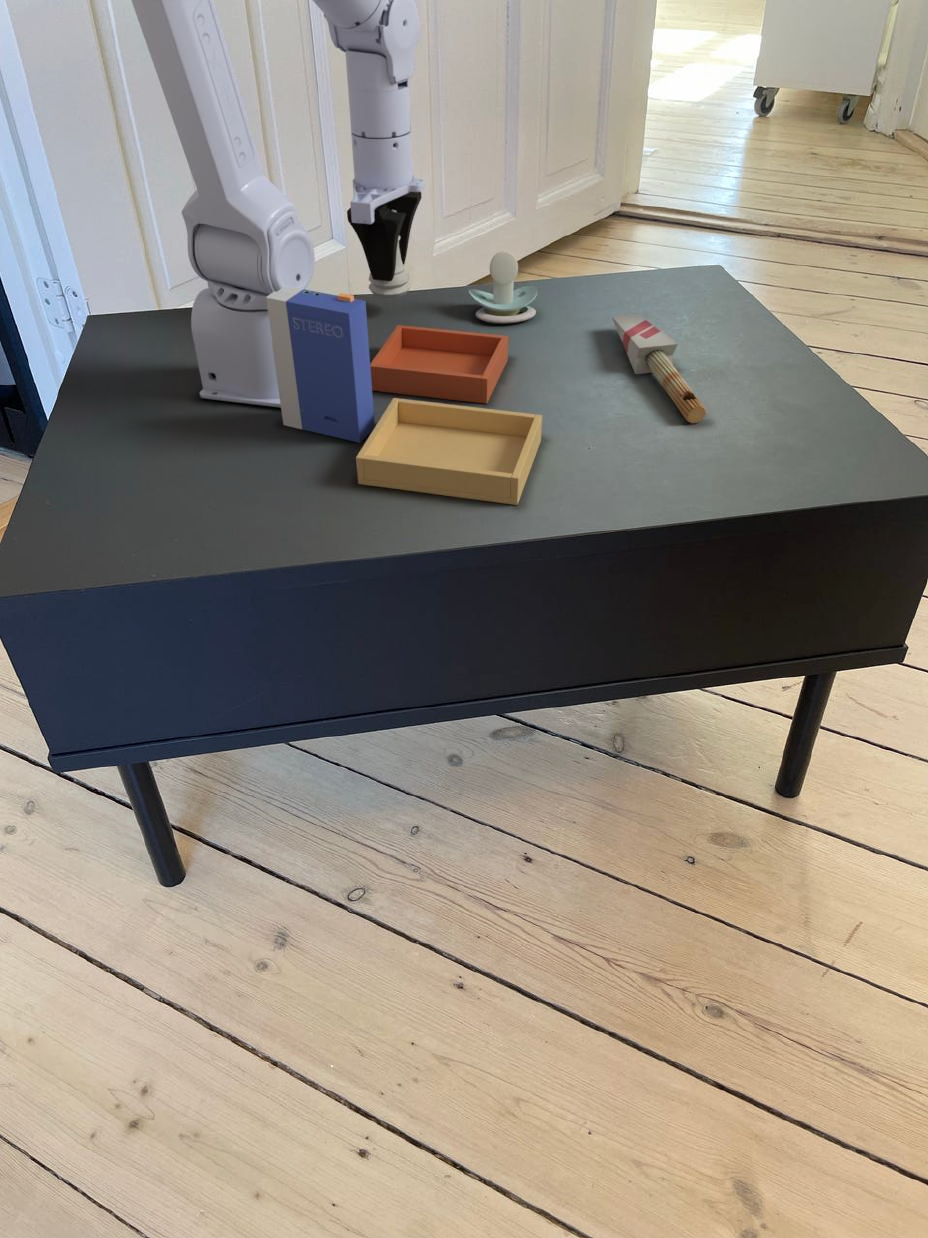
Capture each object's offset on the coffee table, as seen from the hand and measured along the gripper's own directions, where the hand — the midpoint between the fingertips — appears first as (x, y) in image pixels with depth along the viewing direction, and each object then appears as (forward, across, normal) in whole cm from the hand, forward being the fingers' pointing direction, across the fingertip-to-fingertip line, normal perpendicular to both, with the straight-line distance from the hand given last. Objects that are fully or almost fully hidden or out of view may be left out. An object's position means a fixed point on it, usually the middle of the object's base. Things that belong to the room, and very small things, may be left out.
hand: (388, 272), depth 102 cm
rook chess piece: (+2, 0, 0) cm, 2 cm away
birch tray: (+4, -28, -14) cm, 32 cm away
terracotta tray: (+4, -13, -9) cm, 16 cm away
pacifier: (+4, +2, -12) cm, 13 cm away
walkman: (+5, -25, -2) cm, 25 cm away
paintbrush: (+4, -8, -29) cm, 30 cm away
